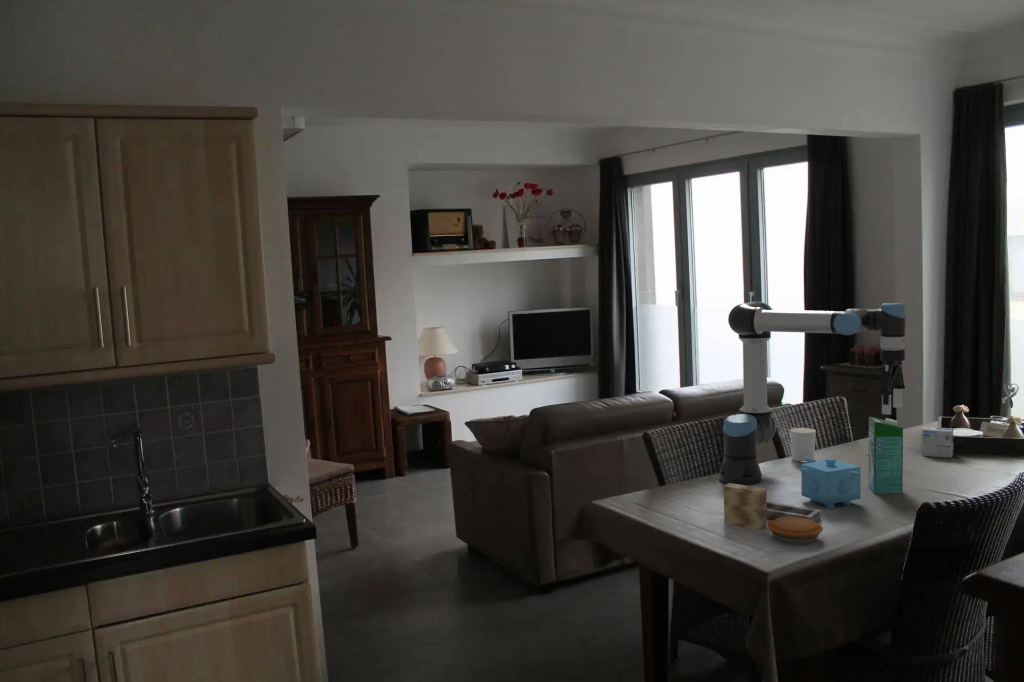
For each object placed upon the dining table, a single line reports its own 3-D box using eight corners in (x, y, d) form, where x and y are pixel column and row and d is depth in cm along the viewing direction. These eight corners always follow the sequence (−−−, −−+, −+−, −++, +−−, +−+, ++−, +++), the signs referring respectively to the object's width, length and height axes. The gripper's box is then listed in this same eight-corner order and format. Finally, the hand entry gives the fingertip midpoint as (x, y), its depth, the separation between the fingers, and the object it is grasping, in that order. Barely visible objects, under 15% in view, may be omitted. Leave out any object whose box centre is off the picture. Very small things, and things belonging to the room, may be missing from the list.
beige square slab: (724, 523, 261) (723, 486, 260) (730, 520, 264) (729, 482, 263) (761, 530, 253) (760, 491, 252) (766, 526, 257) (766, 488, 256)
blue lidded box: (860, 497, 283) (861, 454, 282) (859, 513, 266) (860, 467, 265) (801, 493, 291) (801, 451, 290) (797, 508, 274) (797, 463, 272)
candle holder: (784, 458, 339) (784, 429, 338) (805, 455, 342) (805, 426, 341) (800, 463, 330) (800, 433, 329) (821, 461, 333) (821, 431, 332)
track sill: (747, 516, 267) (747, 507, 267) (759, 509, 274) (759, 500, 274) (810, 527, 255) (810, 517, 254) (820, 519, 262) (820, 510, 261)
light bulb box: (953, 454, 336) (953, 428, 335) (951, 458, 330) (952, 431, 329) (923, 452, 341) (924, 426, 340) (921, 455, 336) (922, 429, 335)
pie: (806, 527, 255) (806, 511, 254) (833, 544, 240) (833, 527, 239) (758, 532, 253) (758, 516, 252) (782, 549, 237) (782, 532, 237)
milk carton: (902, 493, 285) (903, 421, 283) (874, 493, 287) (874, 421, 285) (895, 486, 294) (896, 416, 292) (868, 486, 296) (868, 416, 294)
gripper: (894, 353, 273) (893, 417, 275) (914, 345, 292) (913, 405, 294) (870, 352, 277) (869, 415, 279) (891, 344, 297) (890, 404, 299)
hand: (892, 410), depth 287 cm, fingers open, 13 cm apart
